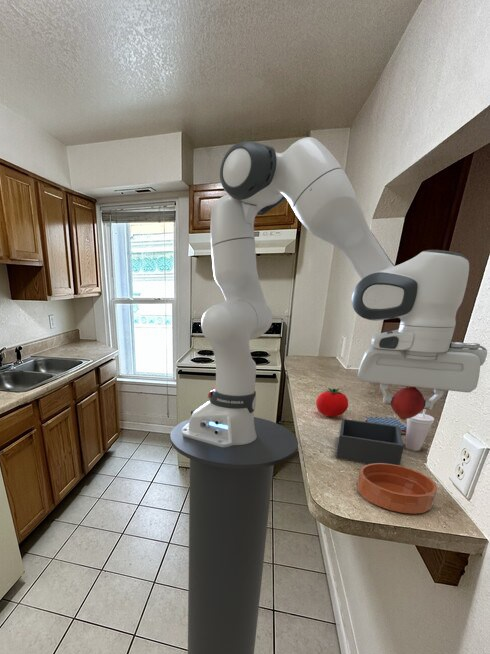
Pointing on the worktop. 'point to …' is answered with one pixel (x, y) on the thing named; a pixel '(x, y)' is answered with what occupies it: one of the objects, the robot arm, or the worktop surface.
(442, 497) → the worktop surface
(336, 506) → the worktop surface
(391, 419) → the woven mat
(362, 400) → the worktop surface
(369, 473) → the bowl
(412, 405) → the pomegranate
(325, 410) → the tomato
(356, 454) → the bin
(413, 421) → the smoothie
